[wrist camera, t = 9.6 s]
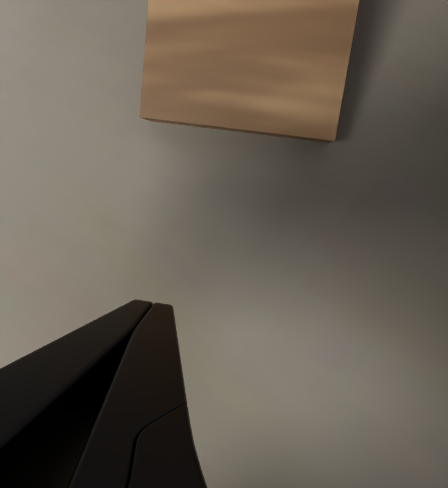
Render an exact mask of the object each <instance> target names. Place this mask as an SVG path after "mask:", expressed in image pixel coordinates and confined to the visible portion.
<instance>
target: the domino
mask: <svg viewBox="0 0 448 488" xmlns="http://www.w3.org/2000/svg"><path fill="white" fill-rule="evenodd" d="M358 5H359V0H149V2H148V15H147V28H146V41H145V54H144V67H143V81H142V94H141V107H140V118H143V119H146V120H149V121H154V122H163V123H171V124H179V125H187V126H196V127H204V128H212V129H220V130H229V131H237V132H245V133H253V134H262V135H270V136H278V137H287V138H295V139H303V140H311V141H320V142H328V143H329V142H333V141H335V138H336V132H337V126H338V120H339V115H340V109H341V103H342V97H343V92H344V86H345V80H346V74H347V69H348V63H349V57H350V51H351V46H352V40H353V34H354V28H355V23H356V17H357V11H358Z"/></svg>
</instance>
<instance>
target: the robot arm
mask: <svg viewBox="0 0 448 488" xmlns="http://www.w3.org/2000/svg"><path fill="white" fill-rule="evenodd" d="M0 488H207V486H206V482H205V479H204V476H203V473H202V470H201V467H200V463H199V460H198V456H197V452H196V449H195V445H194V441H193V435H192V430H191V425H190V419H189V412H188V407H187V400H186V393H185V386H184V379H183V372H182V365H181V358H180V352H179V345H178V338H177V331H176V324H175V317H174V310H173V306H172V305H168V304H162V303H154V304H153V303H152V302H149V301H142V300H133V301H131V302H129V303H127V304H125V305H123V306H121V307H119V308H117V309H115V310H113V311H111V312H109V313H107V314H105V315H104V316H102V317H100V318H98V319H96V320H94V321H92V322H90V323H88V324H86V325H84V326H82V327H80V328H78V329H76V330H74V331H72V332H71V333H69V334H67V335H65V336H63V337H61V338H59V339H57V340H55V341H53V342H51V343H49V344H47V345H45V346H43V347H41V348H40V349H38V350H36V351H34V352H32V353H30V354H28V355H26V356H24V357H22V358H20V359H18V360H16V361H14V362H12V363H10V364H8V365H6V366H5V367H3V368H1V369H0Z"/></svg>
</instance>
